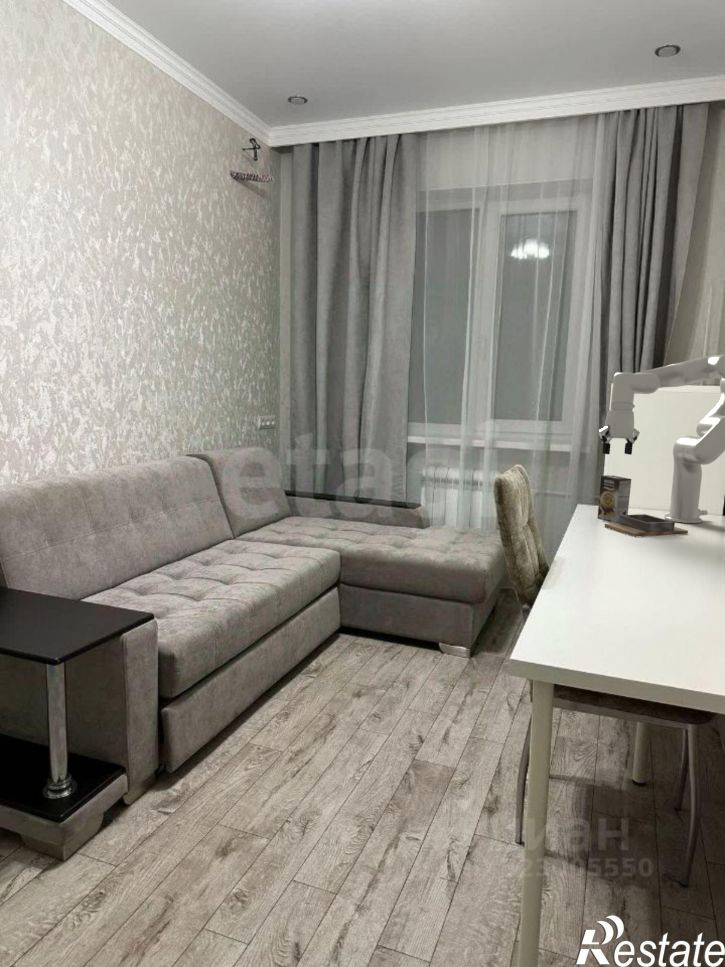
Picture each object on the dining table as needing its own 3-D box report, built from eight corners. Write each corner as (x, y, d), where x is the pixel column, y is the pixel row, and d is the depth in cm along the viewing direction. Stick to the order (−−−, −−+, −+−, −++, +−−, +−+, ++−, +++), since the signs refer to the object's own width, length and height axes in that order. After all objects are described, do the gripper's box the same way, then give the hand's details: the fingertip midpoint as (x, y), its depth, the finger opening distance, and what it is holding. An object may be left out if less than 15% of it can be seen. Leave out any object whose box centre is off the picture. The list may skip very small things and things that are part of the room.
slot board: (655, 524, 236) (656, 513, 235) (687, 534, 221) (689, 521, 221) (604, 527, 229) (605, 515, 228) (634, 536, 215) (635, 524, 214)
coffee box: (596, 517, 246) (600, 475, 243) (609, 516, 248) (612, 474, 246) (615, 522, 237) (619, 478, 235) (628, 521, 240) (632, 478, 238)
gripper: (634, 407, 243) (629, 453, 245) (594, 406, 238) (590, 452, 240) (648, 408, 236) (643, 455, 238) (608, 406, 231) (603, 455, 233)
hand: (617, 454), depth 239 cm, fingers open, 9 cm apart
